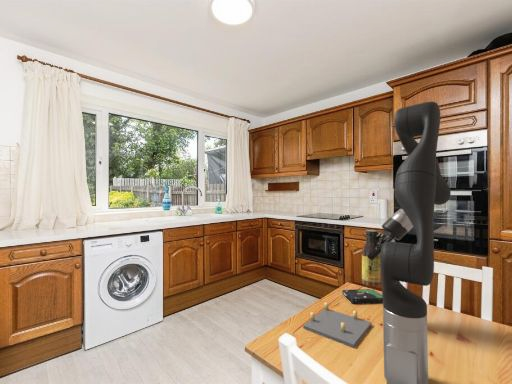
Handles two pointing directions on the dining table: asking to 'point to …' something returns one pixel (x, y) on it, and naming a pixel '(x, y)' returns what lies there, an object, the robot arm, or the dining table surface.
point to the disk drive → (363, 296)
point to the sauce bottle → (370, 261)
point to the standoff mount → (338, 326)
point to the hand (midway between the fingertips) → (366, 256)
